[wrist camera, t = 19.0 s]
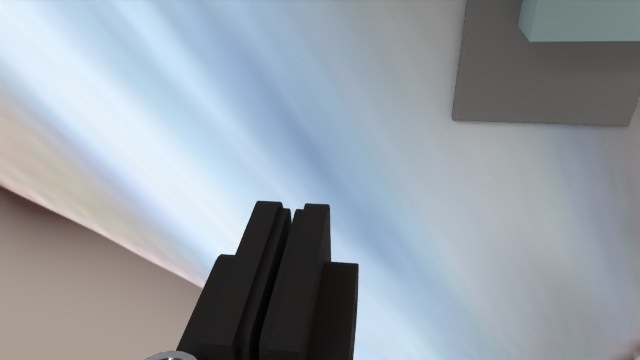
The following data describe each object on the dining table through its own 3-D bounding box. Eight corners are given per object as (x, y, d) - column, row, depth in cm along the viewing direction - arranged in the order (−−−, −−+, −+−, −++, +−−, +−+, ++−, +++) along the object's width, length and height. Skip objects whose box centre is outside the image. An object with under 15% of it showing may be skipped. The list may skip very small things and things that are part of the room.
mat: (478, -85, 26) (480, -84, 26) (699, -89, 25) (705, -88, 24) (451, 116, 33) (452, 120, 32) (624, 121, 31) (628, 125, 31)
